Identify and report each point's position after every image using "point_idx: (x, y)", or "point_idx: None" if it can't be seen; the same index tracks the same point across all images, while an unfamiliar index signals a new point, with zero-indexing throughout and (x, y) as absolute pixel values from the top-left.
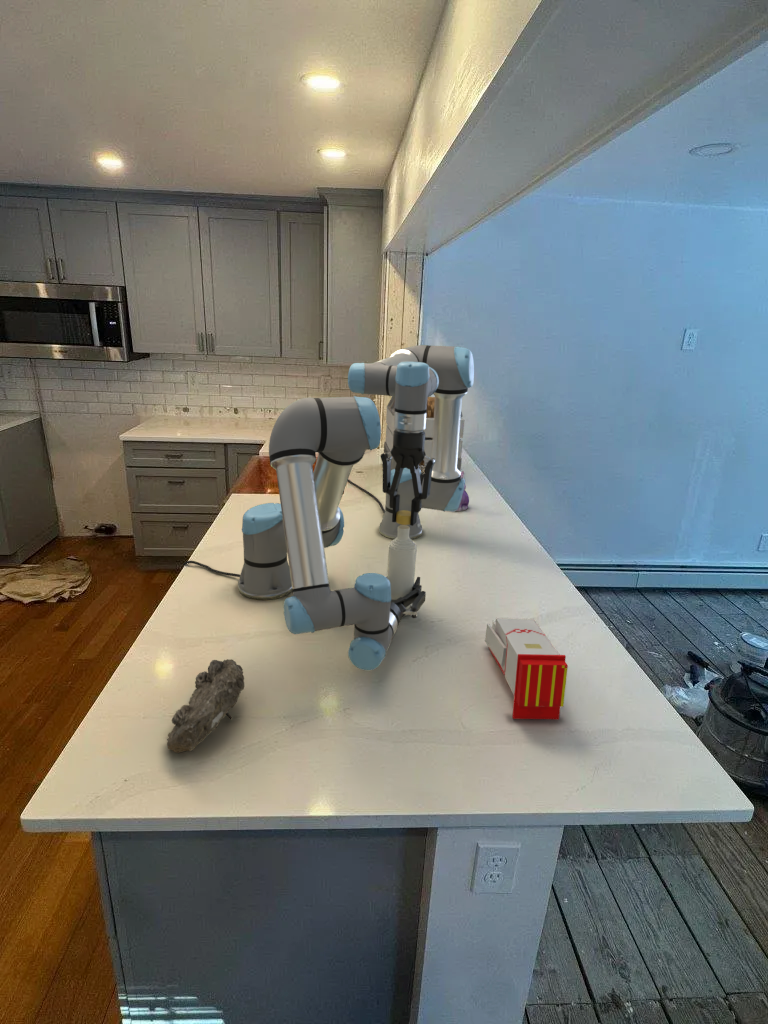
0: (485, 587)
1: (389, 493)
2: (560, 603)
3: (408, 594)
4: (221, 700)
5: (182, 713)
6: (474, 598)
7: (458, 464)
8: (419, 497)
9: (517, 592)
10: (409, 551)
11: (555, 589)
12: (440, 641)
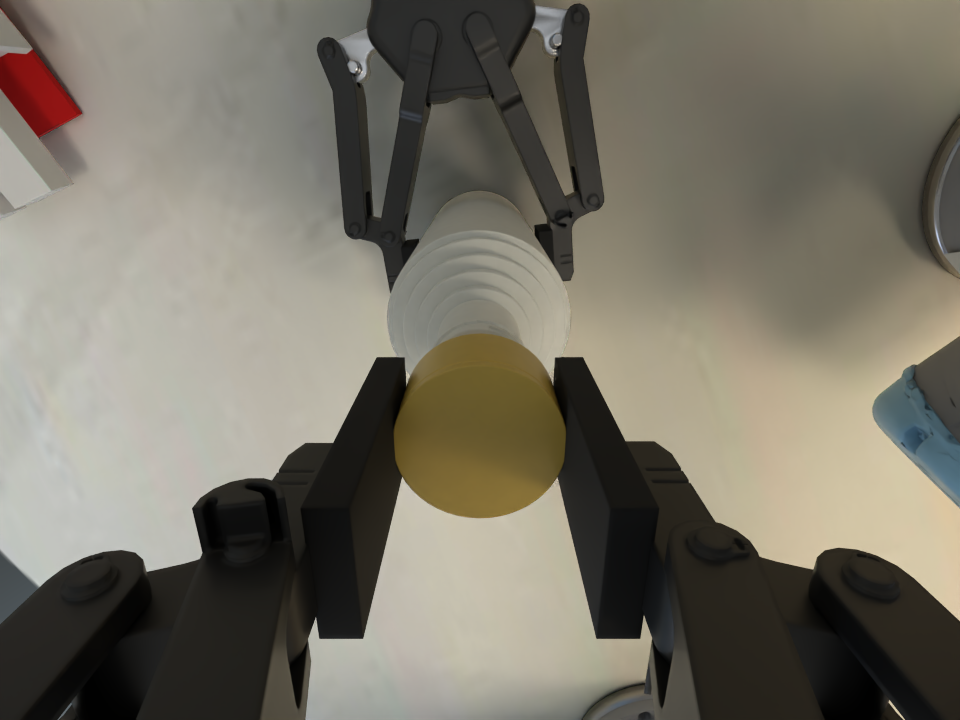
0: None
1: (753, 550)
2: (23, 506)
3: (406, 174)
4: None
5: None
6: (270, 428)
7: None
8: (202, 568)
9: (165, 518)
10: (408, 262)
11: None
12: (254, 82)
